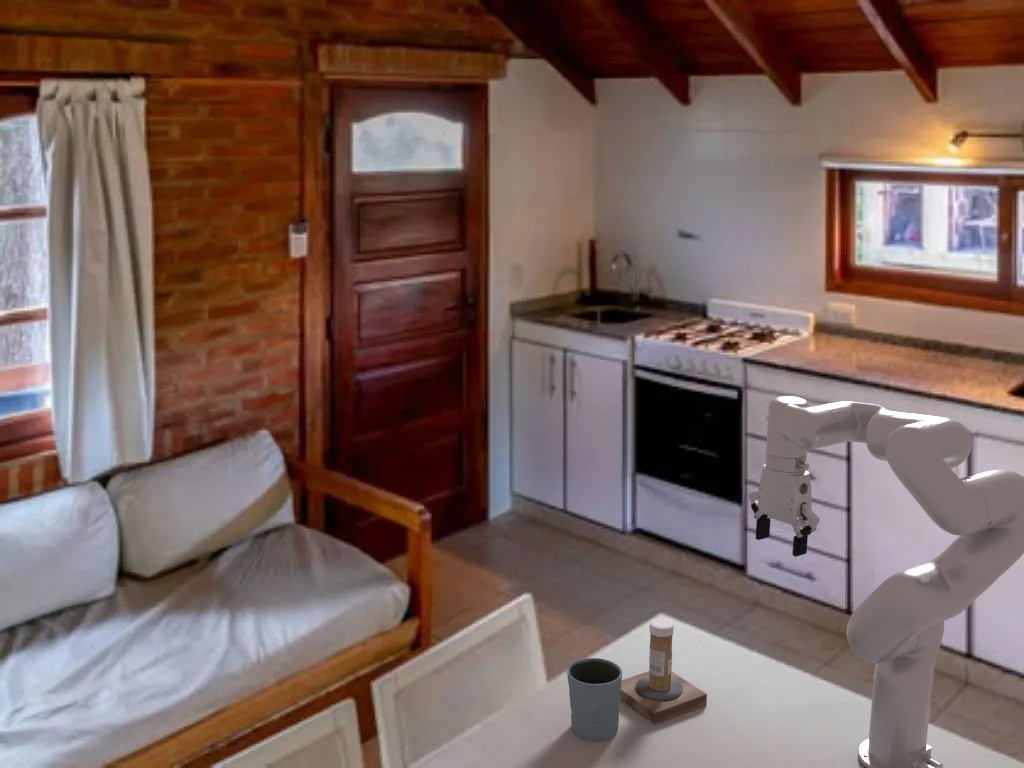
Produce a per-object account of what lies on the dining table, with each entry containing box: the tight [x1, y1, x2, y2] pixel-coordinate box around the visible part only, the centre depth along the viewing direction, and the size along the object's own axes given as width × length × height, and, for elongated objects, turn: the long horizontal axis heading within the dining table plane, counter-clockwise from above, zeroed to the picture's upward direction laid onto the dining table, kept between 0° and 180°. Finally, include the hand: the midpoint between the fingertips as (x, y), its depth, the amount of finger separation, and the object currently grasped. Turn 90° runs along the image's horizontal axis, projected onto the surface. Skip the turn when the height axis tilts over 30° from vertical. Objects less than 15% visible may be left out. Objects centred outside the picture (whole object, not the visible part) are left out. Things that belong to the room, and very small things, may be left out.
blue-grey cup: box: [566, 657, 623, 742], centre depth 201 cm, size 10×10×12 cm
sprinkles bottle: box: [648, 618, 675, 691], centre depth 210 cm, size 5×5×14 cm
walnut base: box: [620, 670, 708, 726], centre depth 212 cm, size 13×13×3 cm
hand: (780, 546), depth 209 cm, fingers open, 9 cm apart
